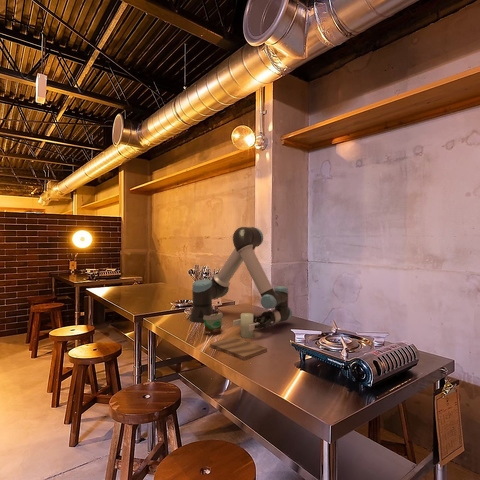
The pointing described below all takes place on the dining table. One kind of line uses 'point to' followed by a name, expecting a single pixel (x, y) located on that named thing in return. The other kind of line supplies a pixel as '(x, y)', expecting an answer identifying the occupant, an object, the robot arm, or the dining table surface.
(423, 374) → the dining table surface
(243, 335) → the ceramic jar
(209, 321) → the food container
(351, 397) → the dining table surface
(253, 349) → the walnut board
